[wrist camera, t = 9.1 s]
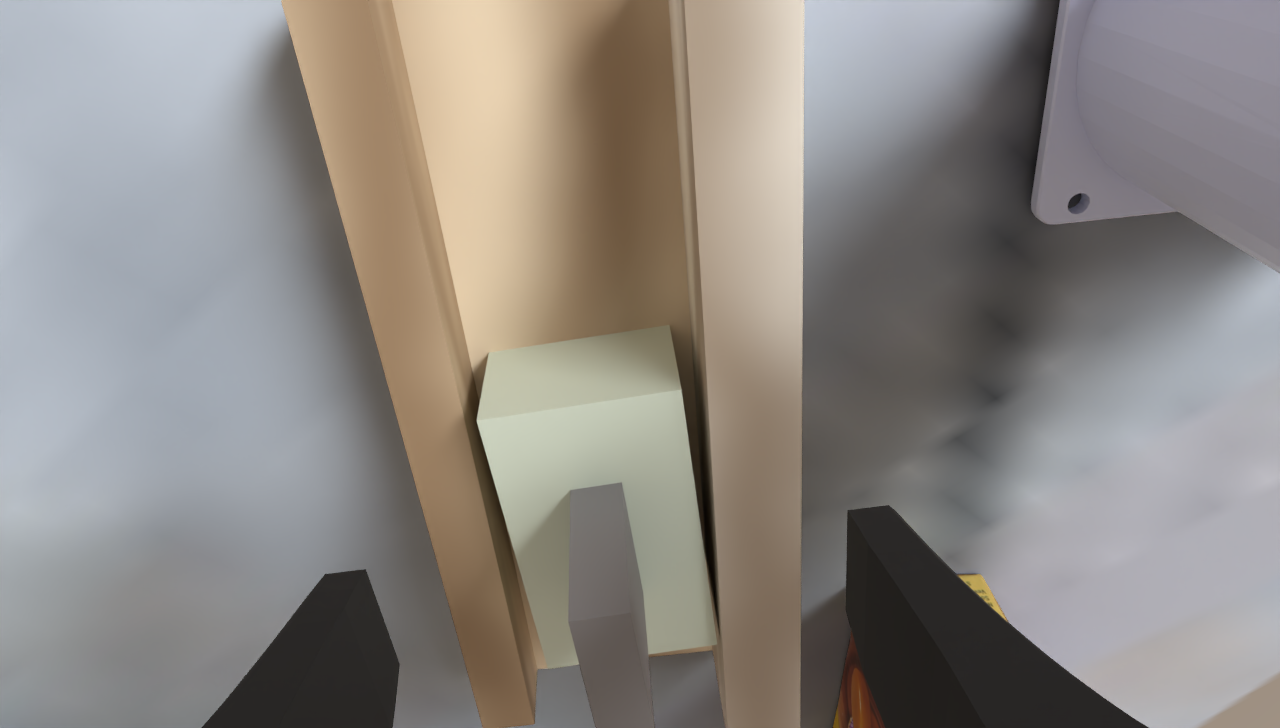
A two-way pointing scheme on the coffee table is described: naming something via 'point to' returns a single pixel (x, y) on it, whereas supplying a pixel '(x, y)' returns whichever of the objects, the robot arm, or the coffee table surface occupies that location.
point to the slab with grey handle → (601, 508)
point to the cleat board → (582, 272)
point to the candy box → (856, 706)
